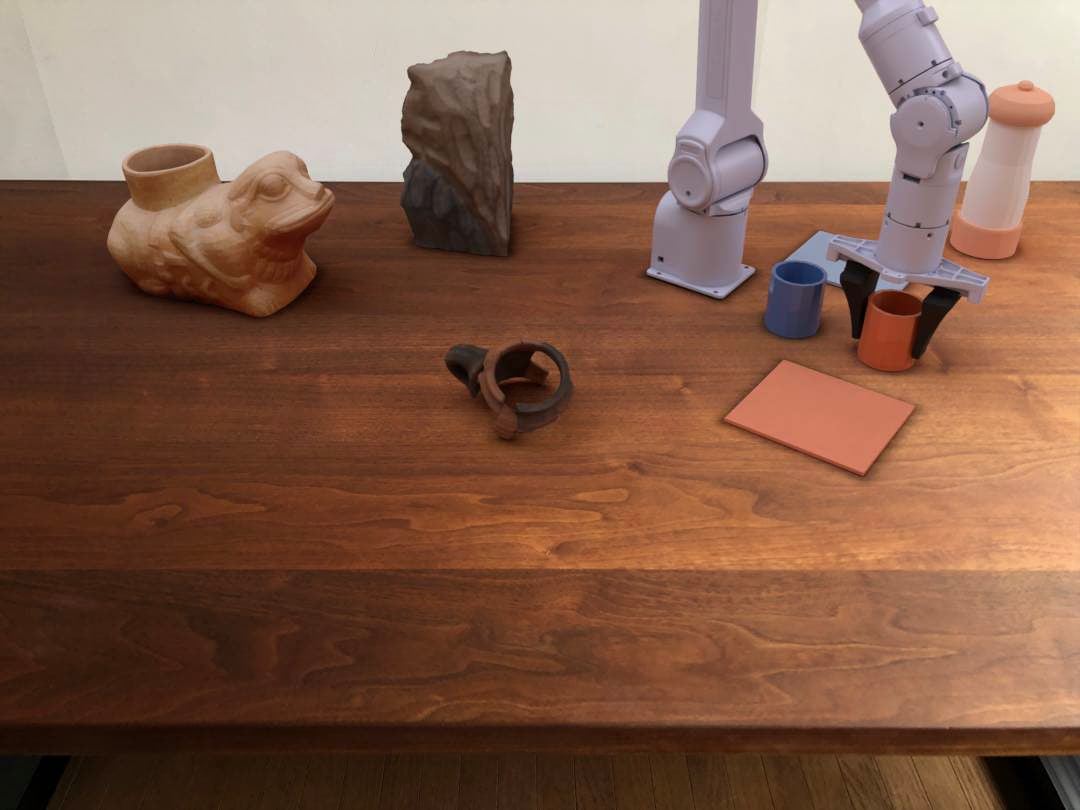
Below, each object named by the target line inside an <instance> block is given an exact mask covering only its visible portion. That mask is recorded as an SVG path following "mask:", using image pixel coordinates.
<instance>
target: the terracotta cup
mask: <svg viewBox="0 0 1080 810" xmlns="http://www.w3.org/2000/svg"><path fill="white" fill-rule="evenodd" d="M923 300H924V298H922V297H920V296H919V295H917V294H915V293H913V292H910V291H907V290H895V289H884V290H878V291H875V292H873V293H872V294H871V295H870V296H869V297H868V300H867V305H866V309H865V314H864V319H863V324H862V329H861V333H860V338H859V339H858V342H857V348H856V349H857V350H856V355H857V357H858V359H859V360H860V361H861V362H862V363H863V364H865V365H866V366H868V367H870V368H872V369H875V370H878V371H884V372H893V373H894V372H896V373H897V372H902V371H903V372H904V371H906V370H908V369H910V368H911V367H912V366H913V365H914V363H915V361H916V359H914V358H911V356H912V350H913V347H914V343H915V340H916V337H917V334H918V330H919V325H920V319H921V310H922V301H923Z"/></svg>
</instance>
